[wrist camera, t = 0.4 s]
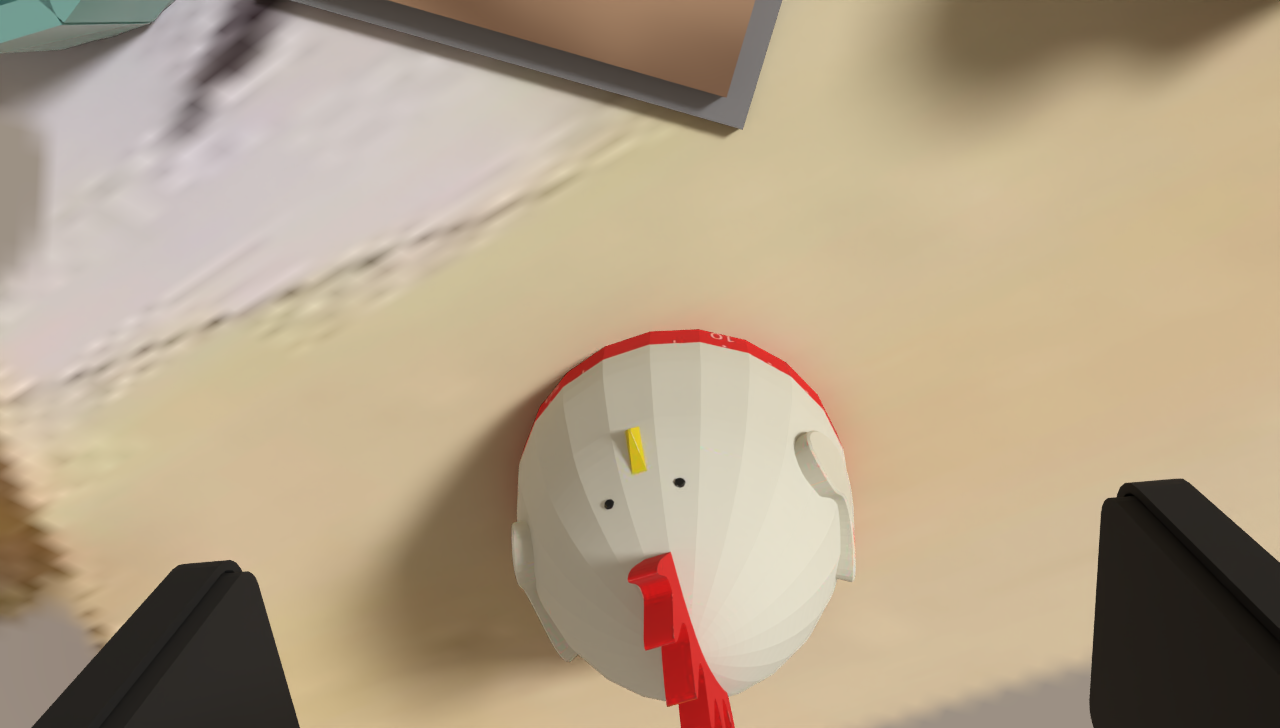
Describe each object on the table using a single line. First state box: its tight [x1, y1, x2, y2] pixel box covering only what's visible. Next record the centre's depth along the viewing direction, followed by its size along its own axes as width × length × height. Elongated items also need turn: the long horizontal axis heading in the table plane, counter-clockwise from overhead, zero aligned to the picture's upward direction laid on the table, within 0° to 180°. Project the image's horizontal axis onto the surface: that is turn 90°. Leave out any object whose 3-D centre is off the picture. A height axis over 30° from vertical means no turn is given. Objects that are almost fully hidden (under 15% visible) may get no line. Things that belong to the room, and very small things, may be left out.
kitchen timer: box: [512, 329, 855, 728], centre depth 34 cm, size 14×14×15 cm
